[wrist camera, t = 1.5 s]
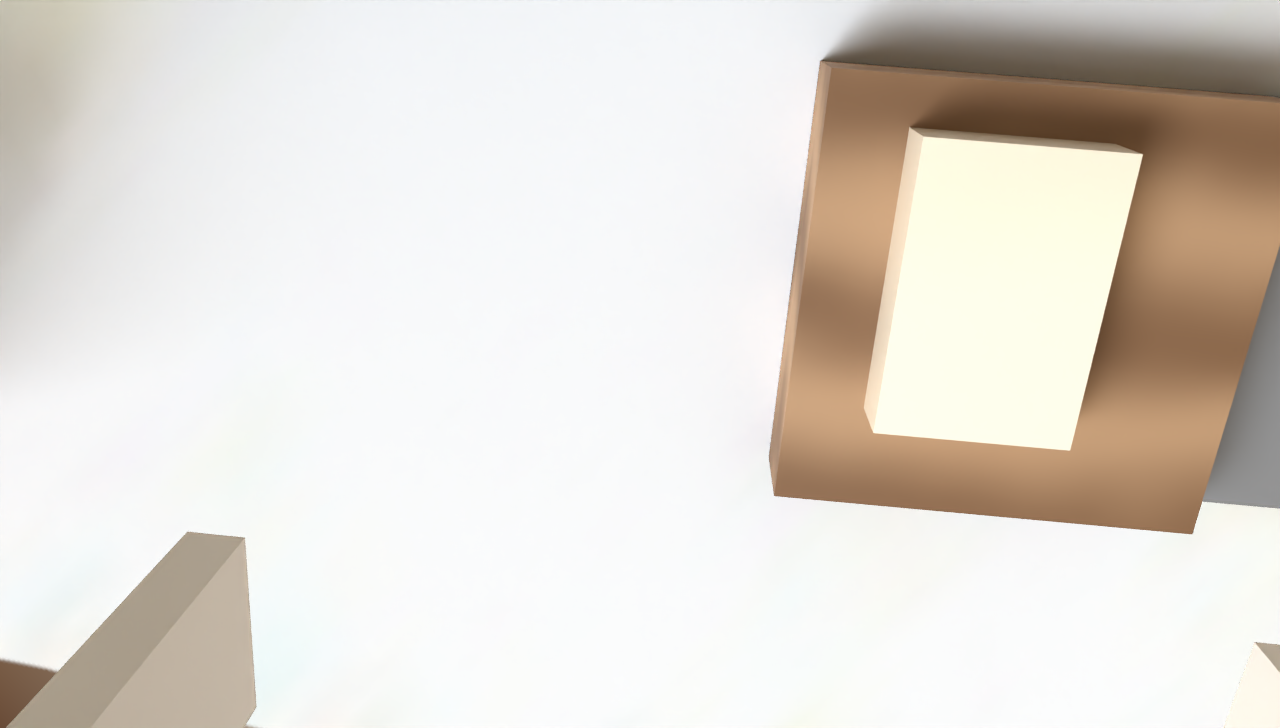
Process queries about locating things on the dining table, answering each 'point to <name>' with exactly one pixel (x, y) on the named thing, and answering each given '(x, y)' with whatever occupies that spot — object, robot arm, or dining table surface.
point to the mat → (1254, 417)
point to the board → (1132, 322)
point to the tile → (996, 286)
